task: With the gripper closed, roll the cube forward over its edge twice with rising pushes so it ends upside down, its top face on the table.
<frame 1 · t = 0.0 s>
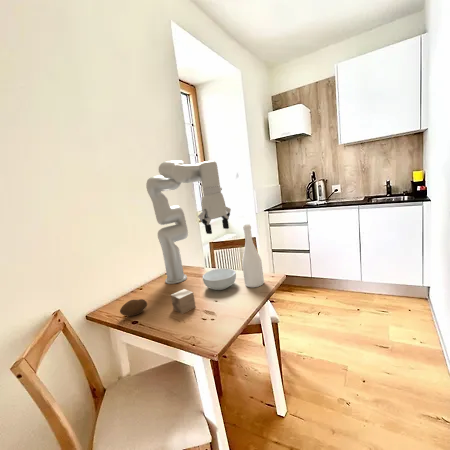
hand: (217, 231, 111), 31 cm above the table, tool pointing down, fingers open, 9 cm apart
wine bottle: (254, 284, 127), on the table
cereal bowl: (221, 287, 130), on the table
potato: (135, 314, 113), on the table
cube: (184, 308, 112), on the table
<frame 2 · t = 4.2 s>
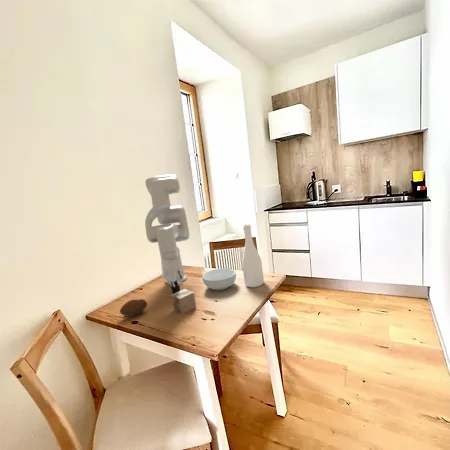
hand: (176, 293, 115), 6 cm above the table, tool pointing down, fingers closed
cube: (185, 308, 112), on the table, touching gripper
everything else where it was.
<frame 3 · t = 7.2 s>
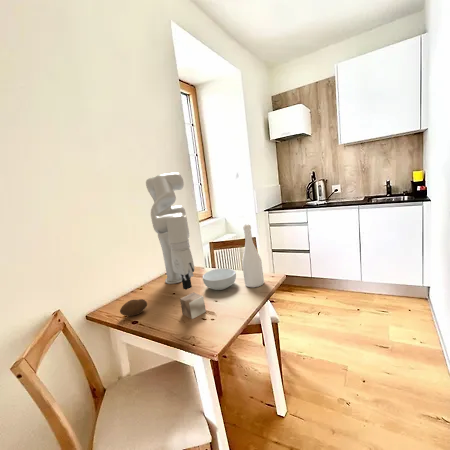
hand: (187, 288, 107), 11 cm above the table, tool pointing down, fingers closed
cube: (188, 303, 109), point 3 cm above the table, tilted 90°
everything else where it was.
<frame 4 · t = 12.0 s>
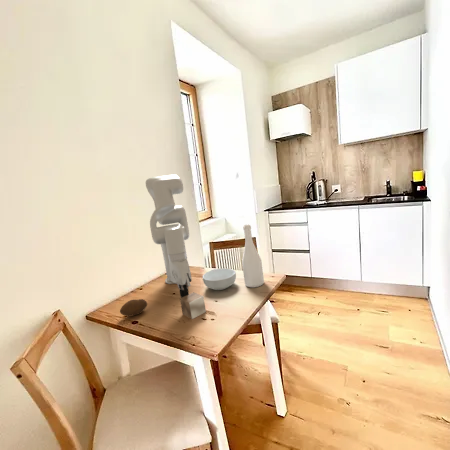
hand: (185, 297, 110), 6 cm above the table, tool pointing down, fingers closed
cube: (188, 303, 109), point 3 cm above the table, tilted 90°, touching gripper
everything else where it was.
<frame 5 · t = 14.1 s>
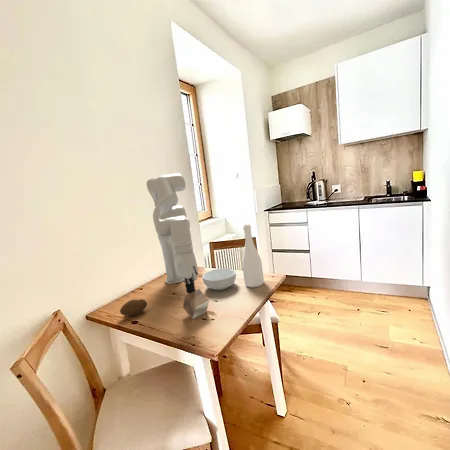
hand: (191, 291, 105), 10 cm above the table, tool pointing down, fingers closed
cube: (191, 298, 106), point 7 cm above the table, tilted 121°, touching gripper
everything else where it was.
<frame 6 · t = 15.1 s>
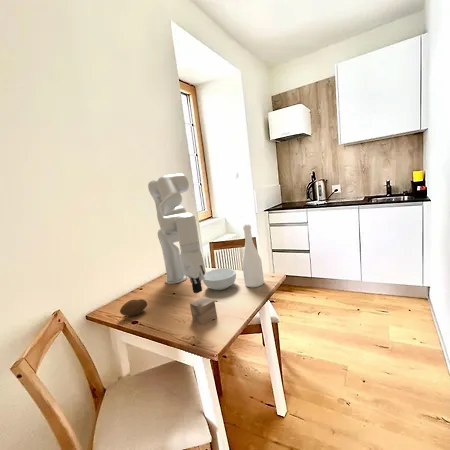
hand: (197, 291, 101), 11 cm above the table, tool pointing down, fingers closed
cube: (202, 301, 100), point 7 cm above the table, tilted 180°
everything else where it was.
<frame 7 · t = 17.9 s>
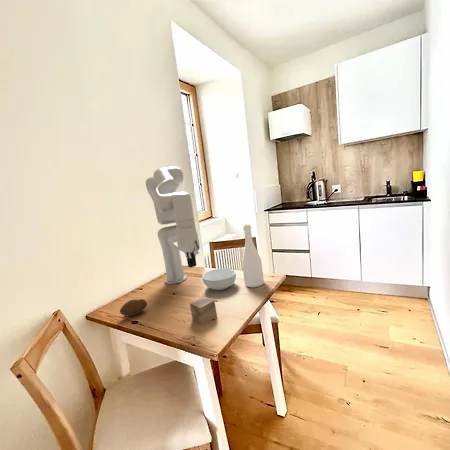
hand: (192, 266, 108), 19 cm above the table, tool pointing down, fingers closed
nothing on the table moved.
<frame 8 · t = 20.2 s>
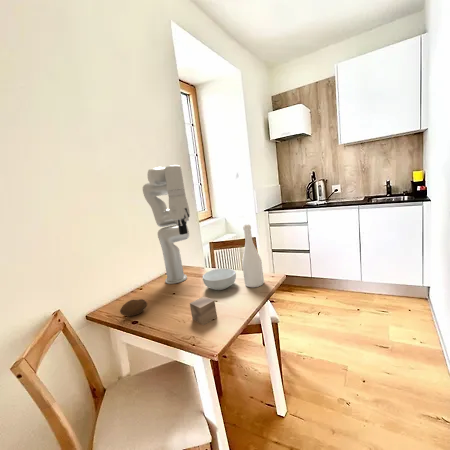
hand: (183, 233, 117), 31 cm above the table, tool pointing down, fingers closed
nothing on the table moved.
at the end: cube tilted 180°; cube inside the target area (0.1 cm from its centre), point 6.9 cm above the table; the gripper is holding nothing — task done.
